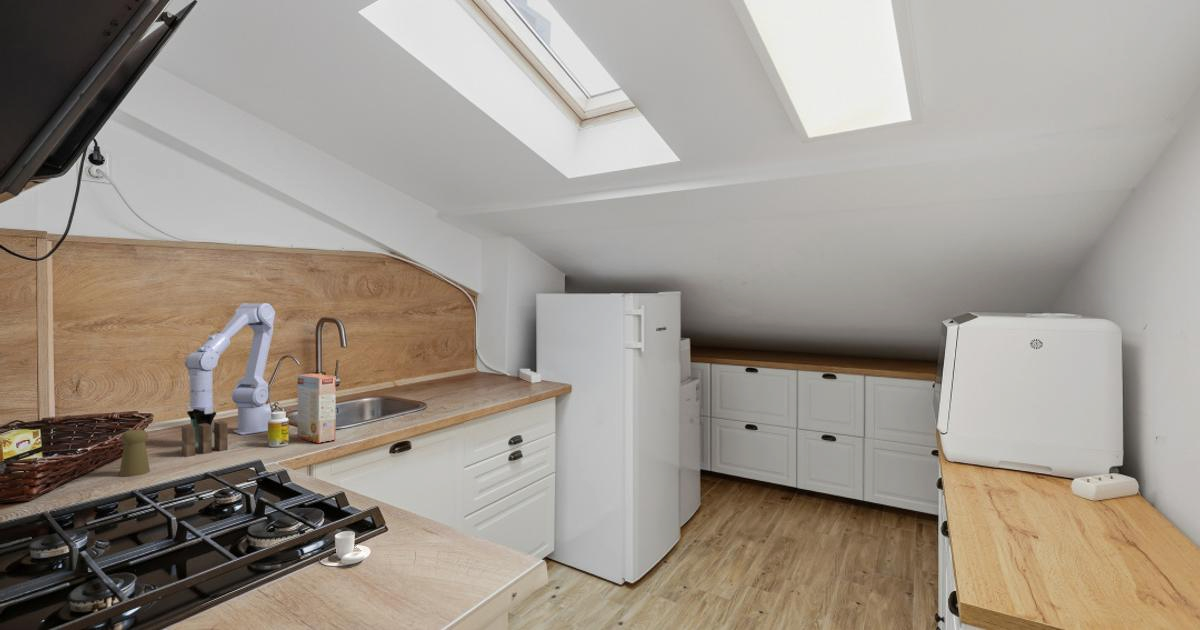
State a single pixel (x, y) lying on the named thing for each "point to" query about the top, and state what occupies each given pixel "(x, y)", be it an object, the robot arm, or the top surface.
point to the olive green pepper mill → (134, 454)
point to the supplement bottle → (278, 429)
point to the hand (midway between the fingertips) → (201, 434)
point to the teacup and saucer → (347, 550)
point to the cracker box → (316, 407)
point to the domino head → (194, 424)
